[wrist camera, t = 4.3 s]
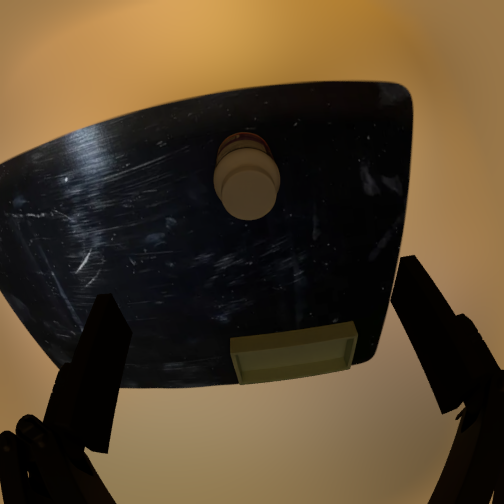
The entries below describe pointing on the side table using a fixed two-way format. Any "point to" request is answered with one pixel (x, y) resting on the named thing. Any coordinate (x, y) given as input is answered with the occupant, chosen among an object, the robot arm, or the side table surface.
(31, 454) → the robot arm
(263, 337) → the tray
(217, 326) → the side table surface
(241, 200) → the pill bottle
